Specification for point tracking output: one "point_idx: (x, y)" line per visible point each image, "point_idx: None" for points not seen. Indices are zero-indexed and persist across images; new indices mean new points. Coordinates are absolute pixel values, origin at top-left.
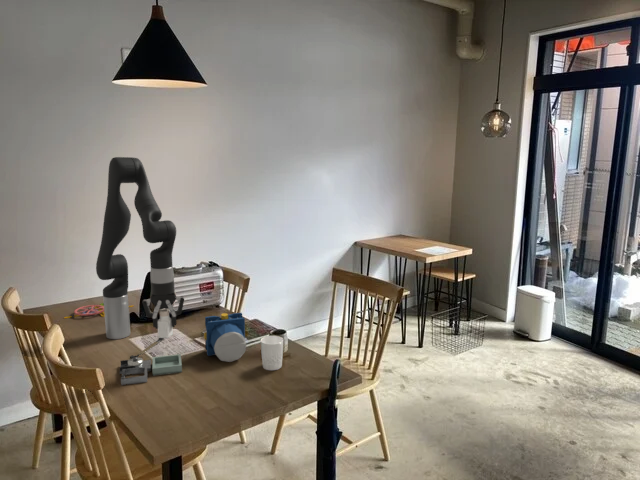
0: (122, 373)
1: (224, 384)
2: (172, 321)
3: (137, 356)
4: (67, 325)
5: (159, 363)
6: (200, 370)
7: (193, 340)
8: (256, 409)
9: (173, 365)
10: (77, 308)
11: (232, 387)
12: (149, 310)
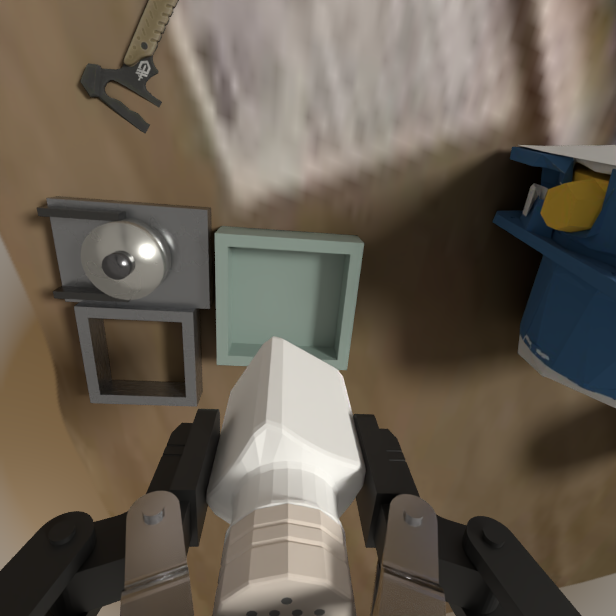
0: (84, 351)
1: (457, 475)
2: (359, 504)
3: (126, 86)
4: None
5: (252, 251)
6: (414, 359)
7: None
8: None
9: None
10: None
11: (471, 496)
12: (46, 611)
